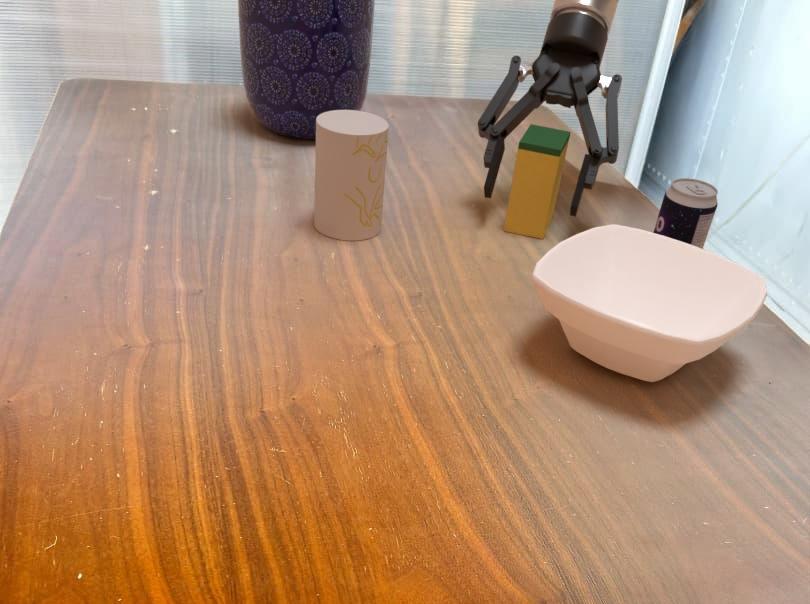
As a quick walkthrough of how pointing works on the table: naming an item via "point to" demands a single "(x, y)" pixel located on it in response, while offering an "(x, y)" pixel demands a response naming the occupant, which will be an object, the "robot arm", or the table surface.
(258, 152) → the table surface
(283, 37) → the planter
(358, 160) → the beige patterned cylinder
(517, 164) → the sponge
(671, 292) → the bowl
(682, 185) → the beverage can
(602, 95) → the robot arm
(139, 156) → the table surface
